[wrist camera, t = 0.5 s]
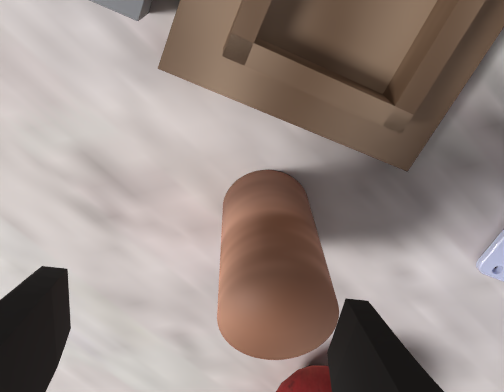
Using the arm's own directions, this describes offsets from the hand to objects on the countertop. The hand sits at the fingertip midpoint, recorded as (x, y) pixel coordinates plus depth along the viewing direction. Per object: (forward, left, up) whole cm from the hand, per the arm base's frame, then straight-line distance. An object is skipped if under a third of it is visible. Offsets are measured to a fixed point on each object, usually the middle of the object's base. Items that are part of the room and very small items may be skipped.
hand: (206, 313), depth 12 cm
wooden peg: (-3, +1, -9) cm, 10 cm away
